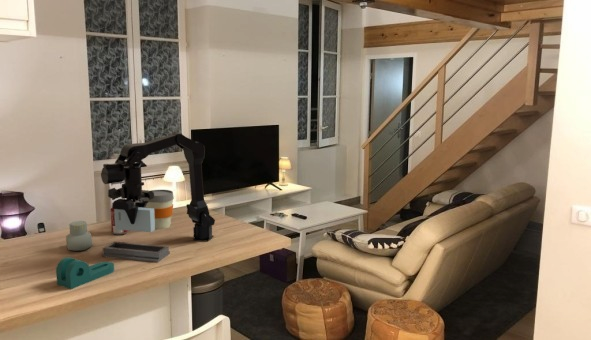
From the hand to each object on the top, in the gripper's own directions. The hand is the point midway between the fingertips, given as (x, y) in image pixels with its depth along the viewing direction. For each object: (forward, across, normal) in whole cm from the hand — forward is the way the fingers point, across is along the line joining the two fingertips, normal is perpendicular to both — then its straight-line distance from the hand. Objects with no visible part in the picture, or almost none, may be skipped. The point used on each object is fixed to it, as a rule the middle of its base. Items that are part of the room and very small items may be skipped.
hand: (135, 222), depth 177 cm
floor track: (+12, 0, 0) cm, 12 cm away
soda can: (+12, -22, -20) cm, 32 cm away
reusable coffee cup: (+12, -35, -9) cm, 38 cm away
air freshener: (+12, -1, -24) cm, 27 cm away
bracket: (+12, +22, -4) cm, 26 cm away
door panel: (+2, 0, 0) cm, 3 cm away
